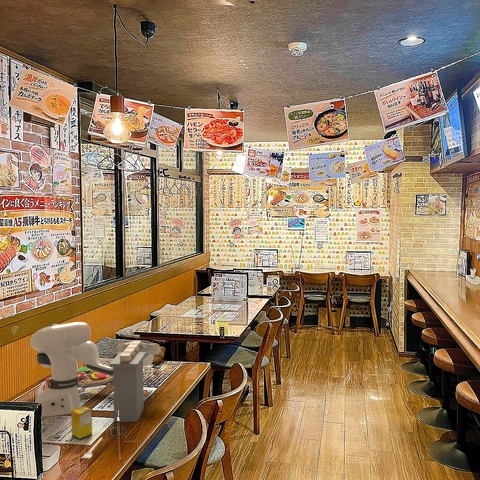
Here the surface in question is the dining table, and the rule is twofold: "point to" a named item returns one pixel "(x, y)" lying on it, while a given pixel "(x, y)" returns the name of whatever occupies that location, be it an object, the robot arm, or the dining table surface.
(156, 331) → the dining table surface
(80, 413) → the supplement box
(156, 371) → the dining table surface
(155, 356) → the bread roll
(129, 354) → the birch bar
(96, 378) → the toy pizza
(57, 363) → the robot arm
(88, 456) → the fork
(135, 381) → the charcoal stand
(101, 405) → the dining table surface
